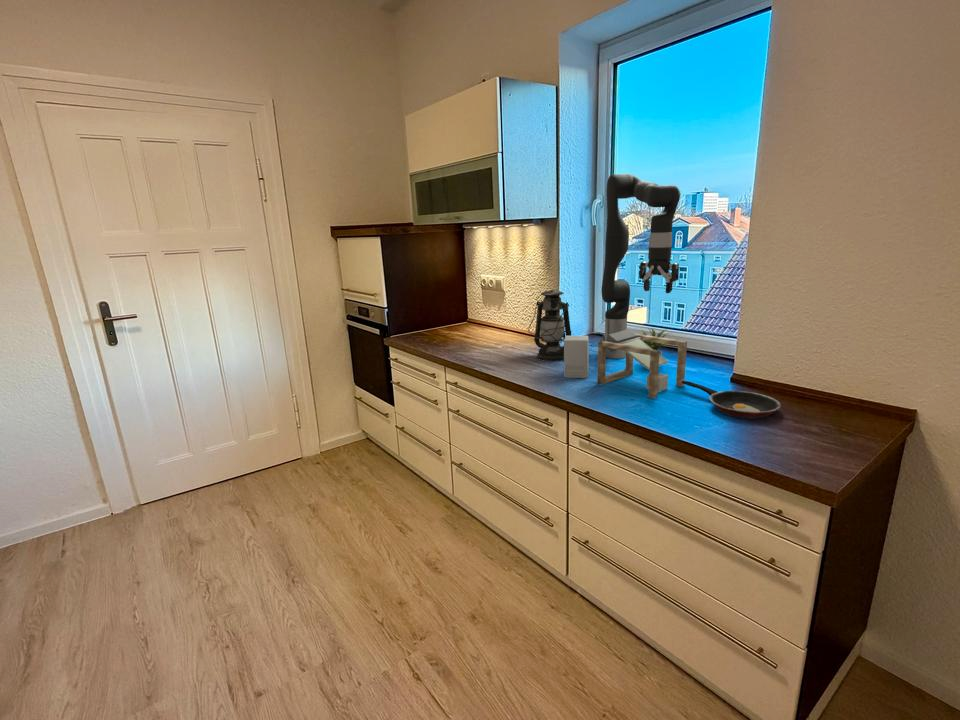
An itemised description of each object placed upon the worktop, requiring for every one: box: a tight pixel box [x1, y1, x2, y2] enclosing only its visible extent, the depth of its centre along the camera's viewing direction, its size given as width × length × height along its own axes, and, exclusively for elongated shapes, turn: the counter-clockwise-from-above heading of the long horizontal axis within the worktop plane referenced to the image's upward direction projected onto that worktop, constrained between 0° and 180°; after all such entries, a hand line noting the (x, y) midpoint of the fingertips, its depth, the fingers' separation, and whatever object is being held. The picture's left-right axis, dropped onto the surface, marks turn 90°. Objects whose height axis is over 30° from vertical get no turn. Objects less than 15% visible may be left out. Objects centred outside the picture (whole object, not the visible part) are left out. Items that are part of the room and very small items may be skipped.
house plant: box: [636, 327, 671, 356], centre depth 191 cm, size 14×14×16 cm
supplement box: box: [563, 335, 590, 379], centre depth 186 cm, size 9×9×15 cm
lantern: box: [527, 289, 572, 362], centre depth 210 cm, size 19×19×30 cm
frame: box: [596, 333, 688, 399], centre depth 170 cm, size 23×19×16 cm
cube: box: [646, 372, 669, 393], centre depth 166 cm, size 5×5×5 cm
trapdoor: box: [606, 328, 669, 371], centre depth 171 cm, size 19×14×5 cm
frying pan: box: [681, 380, 781, 419], centre depth 150 cm, size 19×32×4 cm, turn 27°
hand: (657, 291), depth 172 cm, fingers open, 8 cm apart
